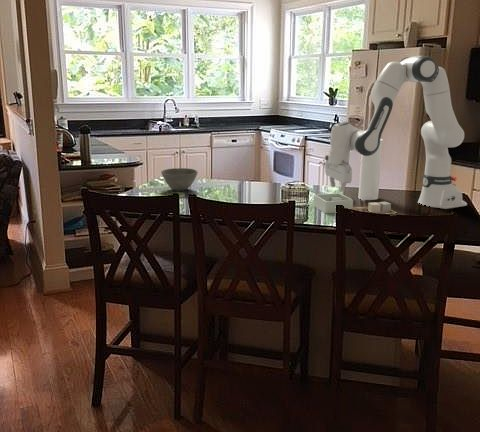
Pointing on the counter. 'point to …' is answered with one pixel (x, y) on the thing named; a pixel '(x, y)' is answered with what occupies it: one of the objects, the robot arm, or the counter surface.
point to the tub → (331, 202)
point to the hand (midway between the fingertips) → (337, 189)
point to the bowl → (179, 178)
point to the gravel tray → (367, 208)
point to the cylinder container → (370, 175)
